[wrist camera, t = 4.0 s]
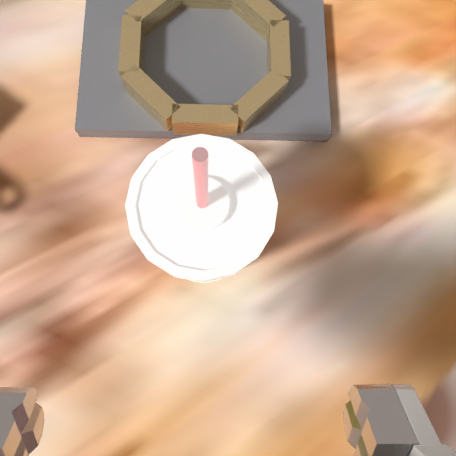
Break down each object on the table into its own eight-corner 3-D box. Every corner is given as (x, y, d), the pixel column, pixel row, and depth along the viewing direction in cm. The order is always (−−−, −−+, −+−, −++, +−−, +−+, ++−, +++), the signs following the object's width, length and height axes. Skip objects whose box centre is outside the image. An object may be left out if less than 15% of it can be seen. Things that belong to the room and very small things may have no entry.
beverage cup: (233, 311, 25) (265, 295, 11) (137, 274, 25) (51, 213, 11) (267, 217, 26) (334, 100, 12) (176, 183, 26) (142, 31, 13)
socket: (120, 133, 26) (115, 121, 24) (129, -10, 28) (124, -29, 26) (287, 136, 26) (293, 124, 25) (282, -4, 28) (286, -23, 27)
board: (79, 136, 27) (75, 129, 26) (90, 2, 29) (86, -9, 28) (327, 141, 27) (331, 134, 26) (319, 10, 30) (323, 0, 29)
